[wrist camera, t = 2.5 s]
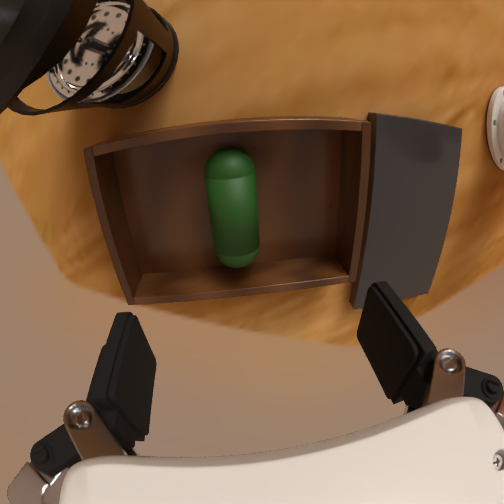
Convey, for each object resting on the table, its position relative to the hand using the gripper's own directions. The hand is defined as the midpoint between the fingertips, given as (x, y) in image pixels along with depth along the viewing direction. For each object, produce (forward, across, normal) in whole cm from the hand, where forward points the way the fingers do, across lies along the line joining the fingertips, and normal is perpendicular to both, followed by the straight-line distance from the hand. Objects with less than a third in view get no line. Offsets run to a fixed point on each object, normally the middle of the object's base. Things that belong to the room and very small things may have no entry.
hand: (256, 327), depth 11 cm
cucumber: (+16, 0, 0) cm, 16 cm away
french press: (+16, +8, -15) cm, 23 cm away
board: (+16, -19, +3) cm, 25 cm away
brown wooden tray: (+16, 0, 0) cm, 16 cm away
